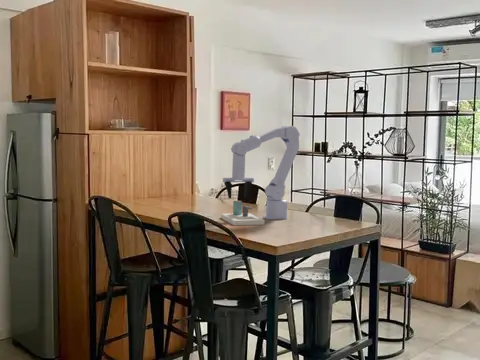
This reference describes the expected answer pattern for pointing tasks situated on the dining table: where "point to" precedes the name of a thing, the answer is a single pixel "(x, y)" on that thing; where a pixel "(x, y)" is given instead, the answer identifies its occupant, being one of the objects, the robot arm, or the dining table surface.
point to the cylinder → (237, 207)
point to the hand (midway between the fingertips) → (237, 198)
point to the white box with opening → (243, 218)
